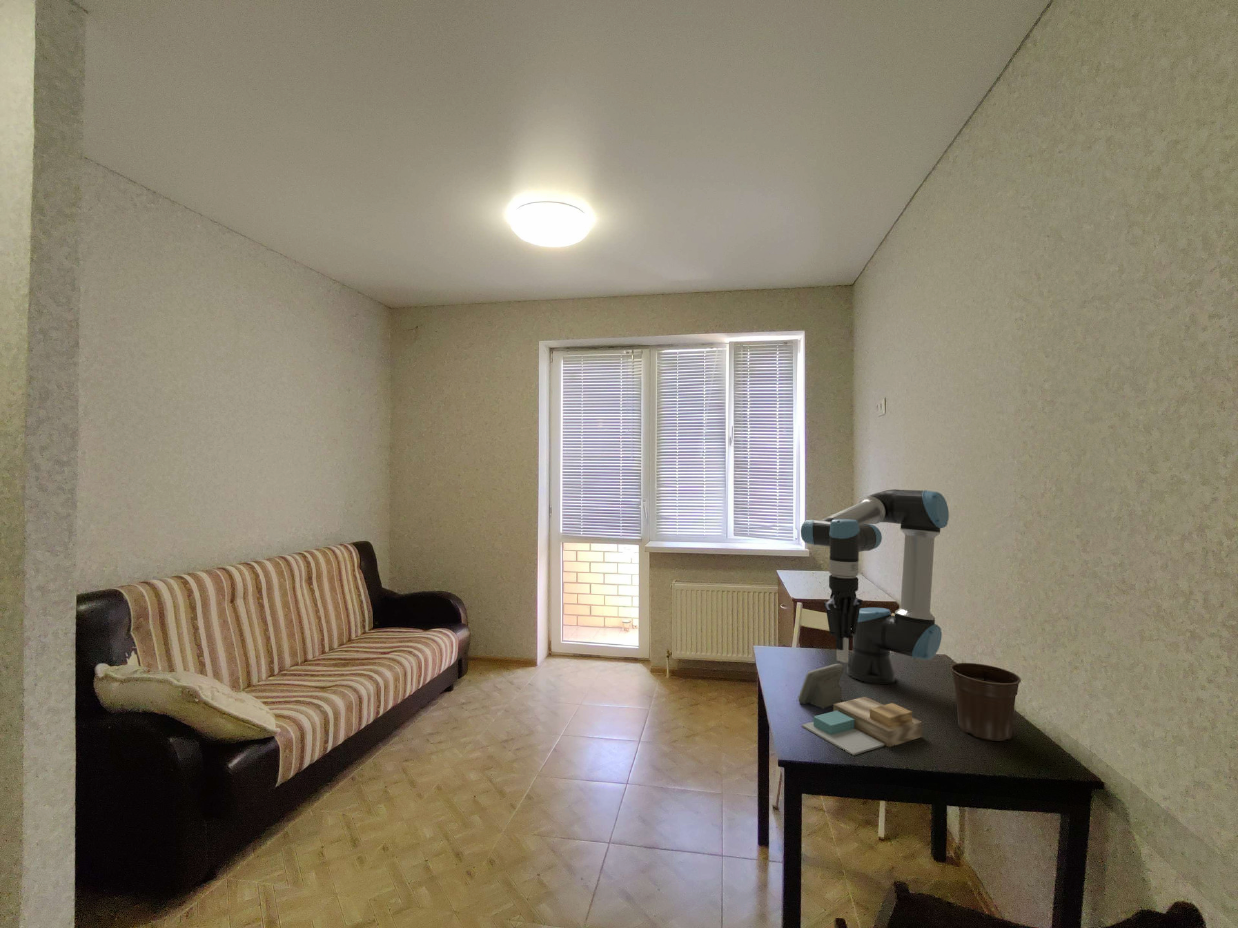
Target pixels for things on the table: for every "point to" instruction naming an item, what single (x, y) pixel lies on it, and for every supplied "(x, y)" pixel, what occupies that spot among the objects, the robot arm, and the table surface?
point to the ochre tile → (890, 715)
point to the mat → (847, 739)
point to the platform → (874, 729)
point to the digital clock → (822, 686)
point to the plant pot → (985, 700)
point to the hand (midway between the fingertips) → (842, 660)
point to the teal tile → (833, 722)
